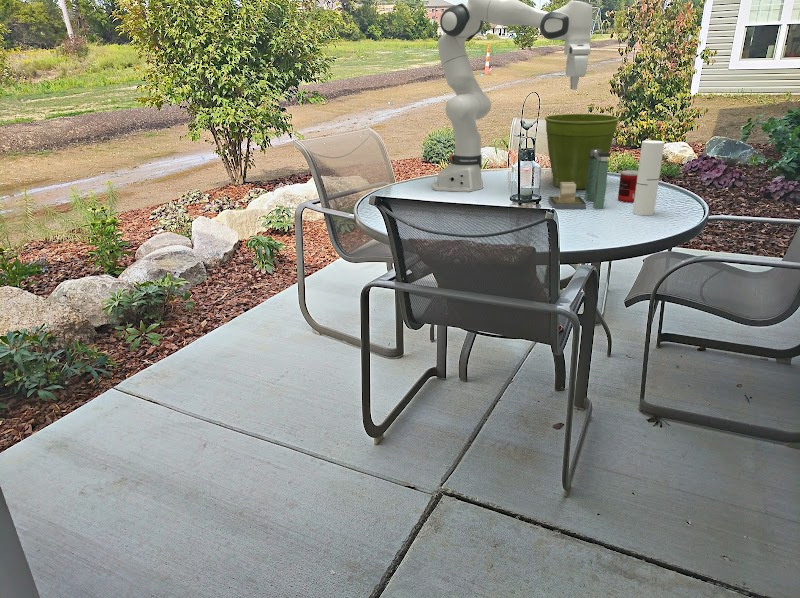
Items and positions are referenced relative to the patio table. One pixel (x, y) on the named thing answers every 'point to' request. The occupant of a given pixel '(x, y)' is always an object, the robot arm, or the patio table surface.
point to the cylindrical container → (648, 177)
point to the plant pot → (576, 144)
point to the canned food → (627, 185)
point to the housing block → (567, 191)
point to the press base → (588, 188)
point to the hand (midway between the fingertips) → (573, 89)
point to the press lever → (599, 154)
